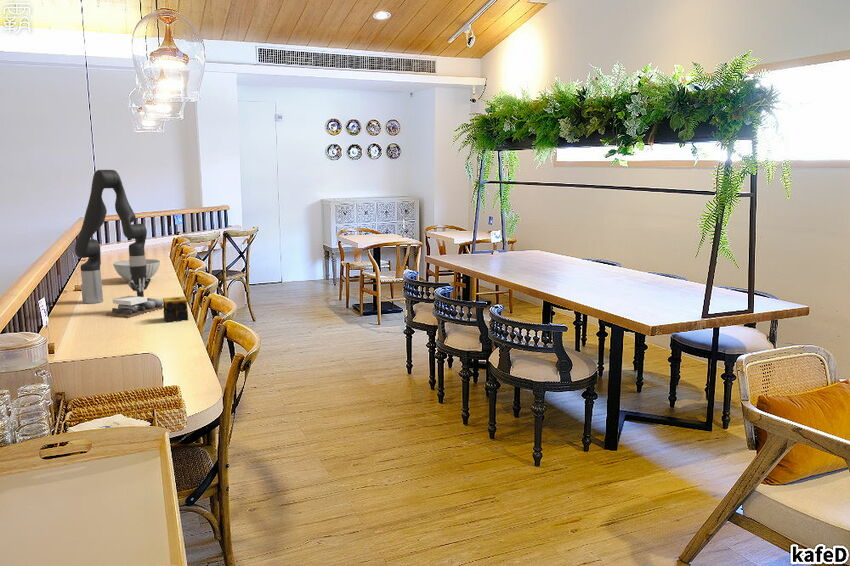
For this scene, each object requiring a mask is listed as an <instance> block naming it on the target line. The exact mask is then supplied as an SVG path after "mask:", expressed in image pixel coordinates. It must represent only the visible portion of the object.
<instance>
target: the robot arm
mask: <svg viewBox="0 0 850 566" xmlns="http://www.w3.org/2000/svg"><path fill="white" fill-rule="evenodd" d="M90 189H91V190H90V193H89V194H90V195H89V199H88V204H87V206H86V209H85V210H86V211H85V214H84V218H83V222H82V225H81V228H80V232H79V234H78V236H77V239H76V242H75V246H74V253H75V255H76V256H77V257H78V258H80V259H84V258H85V259H87V258H88V259H87V260H86V261H85V262H84V263H82V264H81V265H80V277H81V285H80V286H81V287H80V288H81V289H80V290H81V298H82V299H81V301H82V302H83V303H84V304H97V303H102V302H104V296H103V295H104V294H103V284H102V283H103V282H102V274H101V264H102V259H101V257H102V256H101V255H102V253H101V246H100V243H99V241H98V240H97V239H95V238H94V239H93V238H92V237H93V235H95V233H96V232H97V231H98V230H99V229H100V228H101V227H102V226H103V225H104V222H105V220H106V217H107V212H108V211H107V206H106V204H105V201H104V200H103V193H104V190H105V189H112V190H113V191H114V193H115V201H114V209H115V211H116V215H117V216H118V218H119V219H120V223H121V227H122V228H121V229H122V233H123V235H124V237H125V238H127V239H128V240H135V241H134V242H132V243H130V244H129V245H128V257H129V258H128V260H129V264H130V274H131V275H132V277H131V281H130V282H128V281H127V282H126V283H127V285H128V286H129V287H130V289H131V290H132V291H133V292H136V296H138V297H145V296H144V295H145V294H144V291H145V290H147V288H148V287H149V284H150V283H151V280H152V279H151V278H150V279H148V278H147V276H146V273H147V269H146V259H147V258H146V254H145V253H146V252H145V246H146V245H145V244H146V240H147V235H148V234H147V233H148V230H147V227H146V225H145V224H143V223H135V224H134V223H133V222H135V221H136V218H137V217H136V214H135V213H134V210H133V208H132V207H131V205H130V202H129V200H128V198H127V195H126V192H125V187H124V185H123V182H122V178H121V176H120V175H119V173H118V172H117V171H116V170H114V169H98V170H95V172H94V173H93V177H92V181H91V188H90ZM132 223H133V224H132Z"/></svg>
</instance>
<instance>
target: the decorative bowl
mask: <svg viewBox="0 0 850 566" xmlns="http://www.w3.org/2000/svg"><path fill="white" fill-rule="evenodd" d="M145 259H146V269H147V273H146V276H147V278H148V279H151V278H152V277H154V275H155V274H156V273H157V272H158V270H159V267H160V265H161V261H160V260H158V259H153V258H152V259H151V258H149V259H148V258H145ZM112 266H113V268H114V270H115V272H116V273H117V274H118V275H119V276H120V277H121V278H122V279H124V280H126V282H127V283H128V282H130V281H131V277H132V275H131V274H130V264H129V259H127V260H119V261H115V262H113V264H112Z"/></svg>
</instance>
